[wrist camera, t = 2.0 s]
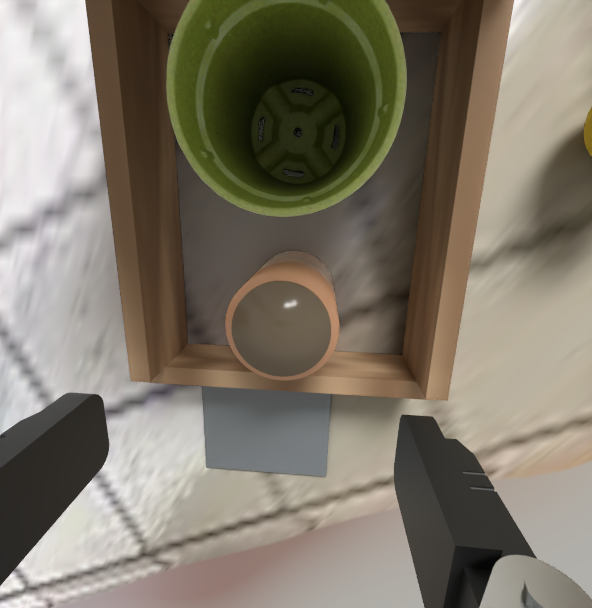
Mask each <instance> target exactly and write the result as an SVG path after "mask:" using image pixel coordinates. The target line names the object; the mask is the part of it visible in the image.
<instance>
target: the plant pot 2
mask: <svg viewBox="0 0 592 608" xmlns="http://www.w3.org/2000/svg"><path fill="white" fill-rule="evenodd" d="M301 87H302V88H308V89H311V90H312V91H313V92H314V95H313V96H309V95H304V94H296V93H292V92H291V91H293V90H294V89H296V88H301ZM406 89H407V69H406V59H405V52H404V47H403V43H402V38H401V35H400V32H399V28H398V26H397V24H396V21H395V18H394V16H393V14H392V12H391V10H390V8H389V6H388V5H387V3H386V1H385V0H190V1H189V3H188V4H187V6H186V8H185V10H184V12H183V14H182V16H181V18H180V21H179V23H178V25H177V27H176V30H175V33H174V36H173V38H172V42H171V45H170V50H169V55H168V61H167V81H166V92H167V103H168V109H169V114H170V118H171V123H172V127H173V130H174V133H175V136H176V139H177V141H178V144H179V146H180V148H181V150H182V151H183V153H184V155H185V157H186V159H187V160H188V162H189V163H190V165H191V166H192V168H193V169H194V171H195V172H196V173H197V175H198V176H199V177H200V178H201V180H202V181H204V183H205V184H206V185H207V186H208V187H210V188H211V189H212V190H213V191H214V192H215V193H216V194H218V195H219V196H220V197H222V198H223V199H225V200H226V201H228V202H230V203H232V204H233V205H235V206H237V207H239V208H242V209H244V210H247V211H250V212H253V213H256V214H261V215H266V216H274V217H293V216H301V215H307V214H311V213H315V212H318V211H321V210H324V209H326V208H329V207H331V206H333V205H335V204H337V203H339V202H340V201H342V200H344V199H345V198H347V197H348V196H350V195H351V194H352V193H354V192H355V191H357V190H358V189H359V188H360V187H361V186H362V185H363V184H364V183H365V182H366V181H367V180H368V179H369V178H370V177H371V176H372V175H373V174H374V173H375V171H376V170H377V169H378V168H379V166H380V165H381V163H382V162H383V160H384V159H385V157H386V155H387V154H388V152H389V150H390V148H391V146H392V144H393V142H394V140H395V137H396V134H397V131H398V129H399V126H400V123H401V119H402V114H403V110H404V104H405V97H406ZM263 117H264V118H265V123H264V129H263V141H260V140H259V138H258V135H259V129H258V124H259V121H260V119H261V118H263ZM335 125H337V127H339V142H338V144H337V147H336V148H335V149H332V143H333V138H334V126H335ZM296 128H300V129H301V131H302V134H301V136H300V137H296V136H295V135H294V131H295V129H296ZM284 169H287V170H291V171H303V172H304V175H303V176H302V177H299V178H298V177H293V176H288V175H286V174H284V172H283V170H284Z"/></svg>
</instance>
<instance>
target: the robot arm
mask: <svg viewBox="0 0 592 608" xmlns="http://www.w3.org/2000/svg"><path fill="white" fill-rule="evenodd" d="M108 451H109V439H108V432H107V425H106V417H105V410H104V403H103V400H102V398H101V397H100V396H99V395H97V394H84V393H67V394H65V395H63V396H62V397H60V398H59V399H57V400H56V401H55V402H53V403H52V404H50V405H49V406H48V407H46V408H45V409H43V410H42V411H41V412H39V413H37V414H35V415H32V416H30V417H28V418H26V419H24V420H22V421H20V422H18V423H17V424H15V425H14V426H13V427H11V428H10V429H8V430H7V431H5V432H4V433H3V434H1V435H0V586H1V584H2V583H3V582H4V581H5V580H6V579H7V577H8V576H9V575H10V574H11V573H12V572H13V570H14V569H15V568H16V567H17V566H18V565H19V563H20V562H21V561H22V560H23V559H24V558H25V556H26V555H27V554H28V553H29V552H30V551H31V549H32V548H33V547H34V546H35V545H36V544H37V542H38V541H39V540H40V539H41V538H42V537H43V536H44V534H45V533H46V532H47V531H48V530H49V529H50V527H51V526H52V525H53V524H54V523H55V522H56V520H57V519H58V518H59V517H60V516H61V515H62V513H63V512H64V511H65V510H66V509H67V508H68V506H69V505H70V504H71V503H72V502H73V501H74V499H75V498H76V497H77V496H78V495H79V494H80V492H81V491H82V490H83V489H84V488H85V487H86V485H87V484H88V483H89V482H90V481H91V480H92V478H93V477H94V476H95V475H96V474H97V473H98V472H99V470H100V469H101V468H102V466H103V465H104V463H105V461H106V458H107V455H108ZM394 483H395V490H396V495H397V499H398V503H399V507H400V511H401V514H402V519H403V523H404V526H405V531H406V535H407V539H408V543H409V547H410V551H411V554H412V558H413V563H414V567H415V571H416V574H417V579H418V583H419V587H420V591H421V595H422V599H423V603H424V607H425V608H592V599H591V598H590V597H589V595H588V594H586V592H585V591H584V590H583V589H582V588H581V587H580V586H579V585H578V584H577V583H575V582H574V581H573V580H572V579H571V578H569V577H568V576H567V575H565V574H564V573H563V572H561V571H560V570H558V569H556V568H555V567H553V566H551V565H549V564H547V563H545V562H543V561H541V560H538V559H537V558H536V556H535V555H534V553H533V551H532V550H531V548H530V546H529V545H528V543H527V542H526V540H525V538H524V537H523V535H522V533H521V531H520V530H519V528H518V527H517V525H516V523H515V522H514V520H513V518H512V517H511V515H510V513H509V512H508V510H507V508H506V507H505V505H504V503H503V502H502V500H501V498H500V497H499V495H498V494H497V492H495V491H494V487H493V485H492V484H491V482H490V480H489V479H488V477H487V476H485V472H484V470H483V469H482V467H481V465H480V464H479V462H478V460H477V459H476V457H475V455H474V454H473V453H472V452H470V451H469V450H468V449H467V448H466V447H465V446H464V445H462V444H461V443H460V442H459V441H458V440H457V439H446V438H444V436H443V434H442V432H441V430H440V428H439V426H438V424H437V422H436V420H435V419H434V418H433V417H430V416H415V415H402V416H401V418H400V423H399V431H398V439H397V447H396V455H395V463H394Z"/></svg>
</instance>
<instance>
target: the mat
mask: <svg viewBox="0 0 592 608" xmlns="http://www.w3.org/2000/svg"><path fill="white" fill-rule="evenodd" d="M202 395H203V412H204V430H205V448H206V466H207V467H208V468H221V469H234V470H247V471H260V472H273V473H287V474H300V475H313V476H326V470H327V454H328V437H329V420H330V403H331V394H327V393H310V392H294V391H278V390H261V389H245V388H229V387H212V386H202Z"/></svg>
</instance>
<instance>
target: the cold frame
mask: <svg viewBox="0 0 592 608" xmlns="http://www.w3.org/2000/svg"><path fill="white" fill-rule="evenodd" d="M189 1H190V0H85V2H86V10H87V18H88V27H89V35H90V43H91V52H92V60H93V69H94V77H95V85H96V94H97V102H98V110H99V119H100V127H101V136H102V144H103V152H104V161H105V169H106V177H107V186H108V194H109V203H110V211H111V219H112V228H113V236H114V244H115V253H116V261H117V270H118V278H119V286H120V295H121V303H122V311H123V320H124V328H125V337H126V345H127V353H128V362H129V370H130V378H131V381H138V382H149V383H163V384H180V385H196V386H212V387H229V388H245V389H261V390H278V391H294V392H310V393H327V394H343V395H359V396H376V397H392V398H408V399H425V400H448V395H449V388H450V382H451V376H452V370H453V364H454V358H455V352H456V346H457V340H458V334H459V328H460V322H461V316H462V310H463V304H464V298H465V292H466V286H467V280H468V274H469V268H470V262H471V256H472V250H473V244H474V238H475V232H476V226H477V220H478V214H479V208H480V202H481V196H482V190H483V184H484V177H485V171H486V165H487V159H488V153H489V147H490V141H491V135H492V129H493V123H494V117H495V111H496V105H497V99H498V93H499V87H500V81H501V75H502V69H503V63H504V57H505V51H506V45H507V39H508V33H509V27H510V21H511V15H512V9H513V3H514V0H385V1H386V3H387V5H388V6H389V8H390V10H391V12H392V14H393V16H394V18H395V21H396V24H397V26H398V28H399V32H441V34H440V43H439V51H438V59H437V68H436V76H435V84H434V93H433V101H432V109H431V118H430V126H429V134H428V143H427V151H426V159H425V168H424V176H423V185H422V193H421V201H420V210H419V218H418V226H417V235H416V243H415V251H414V260H413V268H412V276H411V285H410V293H409V301H408V310H407V318H406V327H405V335H404V343H403V352H402V355H395V354H376V353H357V352H339V351H334V352H333V354H332V356H331V357H330V359H329V360H328V361H327V362H326V363H325V364H324V365H323V366H322V367H321V368H320V369H318V370H317V371H316V372H314V373H312V374H310V375H308V376H306V377H303V378H300V379H295V380H273V379H269V378H266V377H263V376H260V375H258V374H256V373H254V372H253V371H251V370H250V369H248V368H247V367H246V366H245V365H243V364H242V363H241V362H240V360H239V359H238V358H237V357H236V356H235V354H234V353H233V351H232V349H231V347H230V346H226V345H207V344H188V332H187V317H186V302H185V287H184V272H183V257H182V241H181V226H180V211H179V196H178V181H177V166H176V150H175V135H174V130H173V127H172V123H171V118H170V114H169V109H168V103H167V92H166V81H167V61H168V55H169V44H168V34H174V33H175V30H176V27H177V25H178V23H179V21H180V18H181V16H182V14H183V12H184V10H185V8H186V6H187V4H188V3H189Z"/></svg>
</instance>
